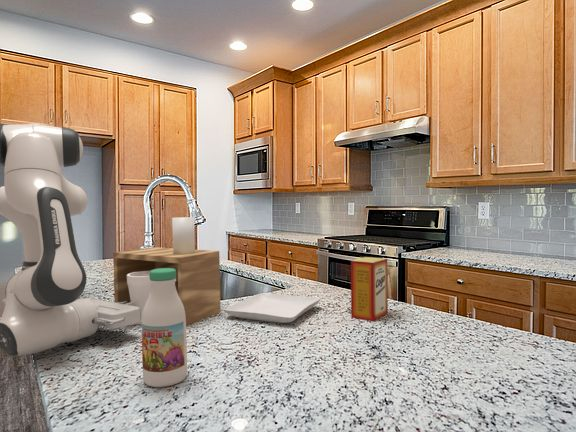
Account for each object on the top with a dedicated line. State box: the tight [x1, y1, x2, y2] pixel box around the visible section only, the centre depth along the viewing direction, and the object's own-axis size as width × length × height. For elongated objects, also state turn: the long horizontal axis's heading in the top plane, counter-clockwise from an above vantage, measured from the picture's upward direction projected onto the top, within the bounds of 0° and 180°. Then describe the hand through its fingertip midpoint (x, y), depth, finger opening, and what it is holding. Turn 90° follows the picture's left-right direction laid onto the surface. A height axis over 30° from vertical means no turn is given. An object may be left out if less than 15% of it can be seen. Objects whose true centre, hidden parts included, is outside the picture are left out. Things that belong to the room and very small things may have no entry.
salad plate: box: [224, 292, 322, 324], centre depth 112 cm, size 21×21×3 cm
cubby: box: [112, 246, 222, 327], centre depth 113 cm, size 27×15×18 cm, turn 61°
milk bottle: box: [141, 268, 188, 388], centre depth 71 cm, size 8×8×20 cm
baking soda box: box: [350, 256, 389, 323], centre depth 108 cm, size 10×6×16 cm
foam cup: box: [127, 271, 151, 325], centre depth 106 cm, size 10×9×13 cm
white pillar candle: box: [171, 216, 196, 254], centre depth 109 cm, size 6×6×10 cm
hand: (130, 304), depth 103 cm, fingers closed, pressing on foam cup
